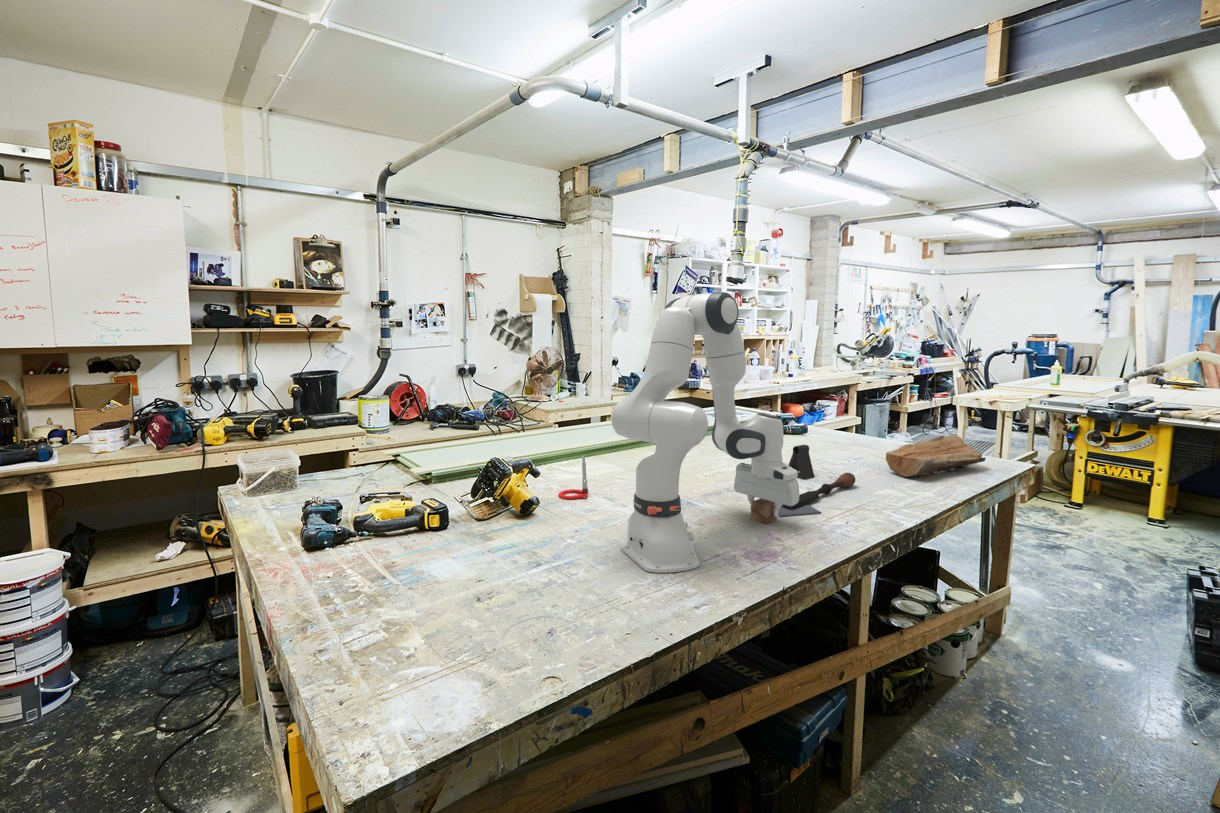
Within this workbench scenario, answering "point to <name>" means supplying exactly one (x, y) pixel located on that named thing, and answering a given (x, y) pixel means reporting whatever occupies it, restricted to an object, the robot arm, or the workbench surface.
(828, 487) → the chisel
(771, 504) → the walnut block
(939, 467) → the log
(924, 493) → the workbench surface
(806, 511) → the charcoal mat
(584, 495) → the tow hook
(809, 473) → the phone stand
